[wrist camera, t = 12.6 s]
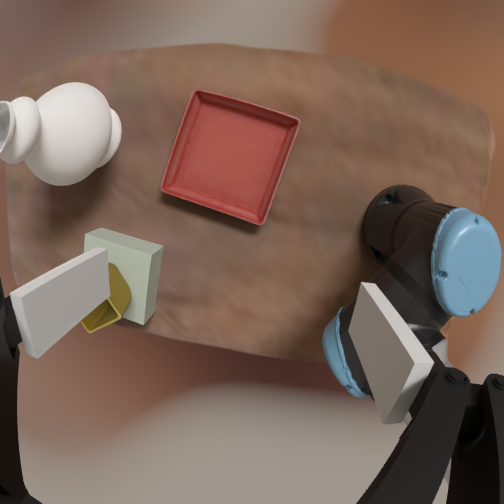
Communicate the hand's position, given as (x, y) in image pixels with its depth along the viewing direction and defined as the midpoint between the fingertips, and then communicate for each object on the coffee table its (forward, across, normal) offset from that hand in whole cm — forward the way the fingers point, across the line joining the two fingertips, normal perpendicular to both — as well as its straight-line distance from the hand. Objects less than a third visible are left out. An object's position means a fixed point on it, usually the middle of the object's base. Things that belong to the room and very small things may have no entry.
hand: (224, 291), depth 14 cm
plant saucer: (+35, +6, -8) cm, 37 cm away
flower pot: (+29, +24, +15) cm, 41 cm away
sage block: (+35, +25, +15) cm, 45 cm away
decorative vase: (+35, +33, -11) cm, 49 cm away
